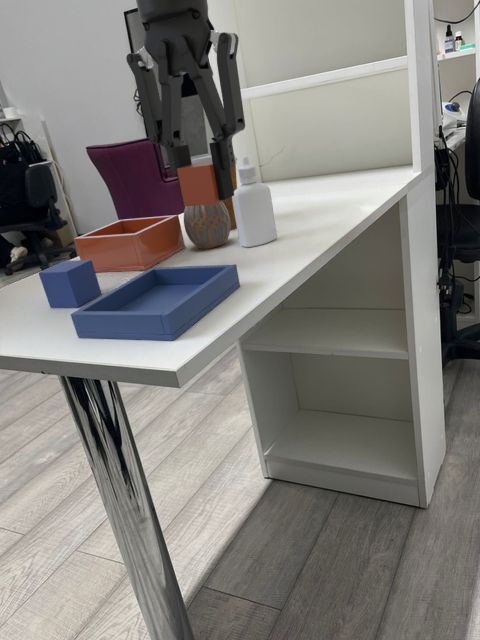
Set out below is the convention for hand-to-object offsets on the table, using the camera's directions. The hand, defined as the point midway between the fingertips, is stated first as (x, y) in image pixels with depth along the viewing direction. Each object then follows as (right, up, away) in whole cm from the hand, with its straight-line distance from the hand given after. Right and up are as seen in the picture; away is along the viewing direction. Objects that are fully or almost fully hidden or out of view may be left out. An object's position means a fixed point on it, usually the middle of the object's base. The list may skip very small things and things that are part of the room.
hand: (208, 198), depth 67 cm
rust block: (0, 0, 0) cm, 0 cm away
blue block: (-16, -13, 0) cm, 21 cm away
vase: (-1, -3, +16) cm, 16 cm away
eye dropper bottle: (+6, -3, +12) cm, 14 cm away
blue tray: (-4, -14, -9) cm, 17 cm away
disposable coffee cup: (0, +2, +26) cm, 26 cm away
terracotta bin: (-12, -5, +15) cm, 20 cm away
